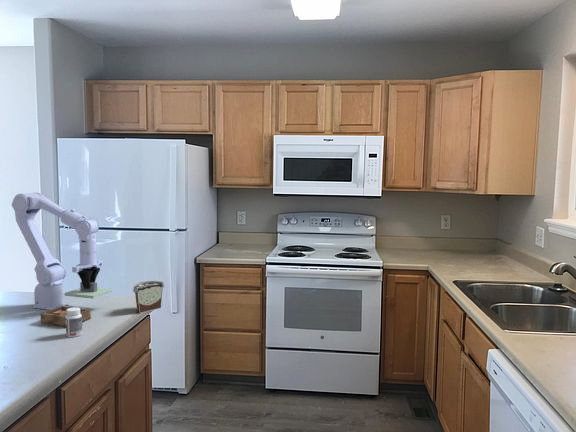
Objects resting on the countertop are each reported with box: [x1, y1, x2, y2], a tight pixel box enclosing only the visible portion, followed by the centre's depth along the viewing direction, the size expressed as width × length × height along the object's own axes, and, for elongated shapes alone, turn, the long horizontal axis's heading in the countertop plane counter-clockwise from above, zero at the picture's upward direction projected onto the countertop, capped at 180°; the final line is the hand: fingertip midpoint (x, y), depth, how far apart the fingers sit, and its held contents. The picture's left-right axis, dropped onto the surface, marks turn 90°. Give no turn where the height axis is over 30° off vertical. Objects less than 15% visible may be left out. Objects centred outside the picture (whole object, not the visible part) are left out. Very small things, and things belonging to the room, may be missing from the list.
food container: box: [132, 280, 165, 314], centre depth 181 cm, size 12×6×10 cm, turn 141°
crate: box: [40, 305, 92, 328], centre depth 165 cm, size 12×10×4 cm
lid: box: [63, 281, 113, 300], centre depth 179 cm, size 13×11×4 cm
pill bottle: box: [65, 306, 83, 338], centre depth 152 cm, size 5×5×8 cm
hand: (88, 287), depth 179 cm, fingers closed on lid, 2 cm apart
